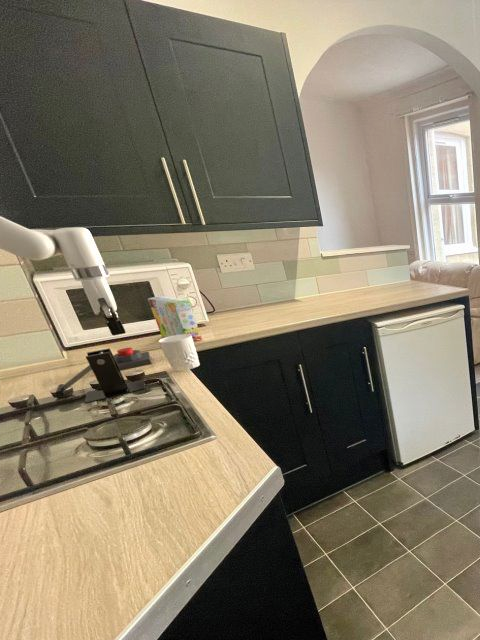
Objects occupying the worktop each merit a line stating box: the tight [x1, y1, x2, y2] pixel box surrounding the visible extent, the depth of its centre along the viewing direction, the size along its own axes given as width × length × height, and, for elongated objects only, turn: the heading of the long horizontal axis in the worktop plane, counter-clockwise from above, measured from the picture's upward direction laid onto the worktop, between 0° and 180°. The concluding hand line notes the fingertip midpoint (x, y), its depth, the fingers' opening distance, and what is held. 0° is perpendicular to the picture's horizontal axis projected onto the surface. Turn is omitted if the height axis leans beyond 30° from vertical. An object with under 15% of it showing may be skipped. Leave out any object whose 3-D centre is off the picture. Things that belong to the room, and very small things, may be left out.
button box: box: [113, 349, 153, 372], centre depth 131 cm, size 10×10×4 cm
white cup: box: [157, 334, 201, 372], centre depth 124 cm, size 8×8×10 cm
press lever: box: [54, 351, 103, 397], centre depth 106 cm, size 13×6×2 cm
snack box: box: [147, 295, 203, 343], centre depth 155 cm, size 21×6×15 cm, turn 59°
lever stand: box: [84, 347, 147, 405], centre depth 109 cm, size 12×9×12 cm
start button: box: [117, 347, 134, 356], centre depth 130 cm, size 4×4×2 cm
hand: (119, 333), depth 128 cm, fingers closed
